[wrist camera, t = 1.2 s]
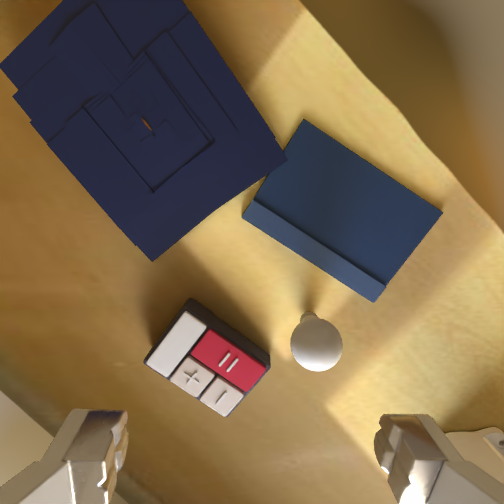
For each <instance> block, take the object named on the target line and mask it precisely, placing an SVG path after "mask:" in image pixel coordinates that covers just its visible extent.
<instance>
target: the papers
mask: <svg viewBox="0 0 504 504" xmlns="http://www.w3.org/2000/svg"><path fill="white" fill-rule="evenodd" d="M0 68H1V70H2V71H3V72H4V73H5V74H6V76H7V77H8V78H9V79H10V80H11V81H12V83H13V84H14V85H15V86H16V87H17V89H18V91H17V92H16V93H15V94H14V95H13V96H12V97H13V98H14V99H15V100H16V101H17V103H18V104H19V105H20V106H21V108H22V109H23V110H24V111H25V112H26V114H27V115H28V116H29V117H30V119H31V120H32V121H31V122H30V123H31V125H32V126H33V127H34V128H35V129H36V131H37V132H38V133H39V134H40V135H41V137H42V138H43V139H44V140H45V141H46V143H47V145H48V146H49V147H50V149H51V150H52V151H53V152H54V153H55V154H56V155H57V157H58V158H59V159H60V160H61V161H62V162H63V164H64V165H65V166H66V167H67V168H68V169H69V171H70V172H71V173H72V174H73V175H74V176H75V177H76V179H77V180H78V181H79V182H80V183H81V184H82V186H83V187H84V188H85V189H86V190H87V191H88V192H89V194H90V195H91V196H92V197H93V198H94V199H95V201H96V202H97V203H98V204H99V205H100V206H101V207H102V209H103V210H104V211H105V212H106V213H107V214H108V216H109V217H110V218H111V219H112V220H113V221H114V223H115V224H116V225H117V226H118V227H119V228H120V229H121V230H122V231H123V232H124V233H125V235H126V236H127V237H128V238H129V239H130V240H131V241H132V242H133V243H134V245H135V246H136V245H137V246H138V247H139V249H140V250H141V251H142V252H143V253H144V254H145V255H146V256H147V257H148V258H149V259H150V260H151V261H152V262H153V261H154V260H155V259H156V258H158V257H159V256H160V255H161V254H163V253H164V252H165V251H166V250H167V249H169V248H170V247H171V246H172V245H173V244H175V243H176V242H177V241H178V240H179V239H181V238H182V237H183V236H184V235H186V234H187V233H188V232H189V231H190V230H192V229H193V228H194V227H195V226H196V225H198V224H199V223H200V222H201V221H202V220H204V219H205V218H206V217H207V216H209V215H210V214H211V213H212V212H213V211H215V210H216V209H218V208H219V207H220V206H222V205H223V204H225V203H226V202H228V201H229V200H231V199H232V198H234V197H235V196H236V195H238V194H239V193H241V192H242V191H244V190H245V189H247V188H248V187H250V186H251V185H252V184H254V183H255V182H257V181H258V180H260V179H261V178H263V177H264V176H266V175H267V174H268V173H270V172H271V171H273V170H274V169H276V168H277V167H279V166H280V165H282V164H283V163H285V162H286V161H287V160H288V159H287V157H286V156H285V154H284V153H283V151H282V149H281V148H280V146H279V144H278V143H277V141H276V140H275V138H276V137H275V136H274V134H273V133H272V131H271V130H270V128H269V127H268V125H267V124H266V122H265V121H264V119H263V118H262V116H261V115H260V113H259V112H258V110H257V109H256V107H255V106H254V104H253V103H252V101H251V100H250V98H249V97H248V95H247V94H246V93H245V91H244V90H243V88H242V87H241V85H240V84H239V82H238V81H237V79H236V78H235V76H234V75H233V73H232V72H231V70H230V69H229V67H228V66H227V64H226V63H225V61H224V60H223V58H222V57H221V56H220V54H219V53H218V51H217V50H216V48H215V47H214V45H213V44H212V42H211V41H210V39H209V38H208V36H207V35H206V33H205V32H204V30H203V29H202V27H201V26H200V24H199V23H198V22H197V20H196V19H195V17H194V16H193V14H192V13H191V12H190V11H189V9H188V8H187V6H186V5H185V4H184V2H183V1H182V0H63V1H62V2H61V3H60V4H59V5H58V6H57V7H56V8H55V9H54V10H53V11H52V12H51V13H50V14H49V15H48V16H47V17H46V18H45V19H44V20H43V21H42V22H41V23H40V24H39V25H38V26H37V27H36V28H35V29H34V30H33V31H32V32H31V33H30V34H29V35H28V36H27V37H26V38H25V39H24V40H23V41H22V42H21V43H20V44H19V45H18V46H17V47H16V48H15V49H14V50H13V51H12V52H11V53H10V54H9V55H8V56H7V57H6V58H5V59H4V60H3V61H2V62H1V63H0Z"/></svg>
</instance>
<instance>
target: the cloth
mask: <svg viewBox="0 0 504 504" xmlns="http://www.w3.org/2000/svg"><path fill="white" fill-rule="evenodd" d="M283 153H284V154H285V156H286V157H287V159H288V160H287V161H286V162H285V163H283V164H282V165H280V166H279V167H277V168H276V169H274V170H273V171H271V172H270V173H269V175H268V176H267V178H266V179H265V181H264V183H263V184H262V186H261V187H260V189H259V190H258V192H257V194H256V195H255V197H254V198H253V200H252V201H251V203H250V205H249V206H248V208H247V209H246V211H245V212H244V214H243V216H242V218H243V219H245V220H246V221H248V222H249V223H251V224H253V225H254V226H256V227H257V228H259V229H260V230H262V231H263V232H265V233H266V234H268V235H269V236H271V237H273V238H274V239H276V240H277V241H279V242H280V243H282V244H283V245H285V246H286V247H288V248H289V249H291V250H293V251H294V252H296V253H297V254H299V255H300V256H302V257H303V258H305V259H306V260H308V261H310V262H311V263H313V264H314V265H316V266H317V267H319V268H320V269H322V270H323V271H325V272H326V273H328V274H330V275H331V276H333V277H334V278H336V279H337V280H339V281H340V282H342V283H343V284H345V285H347V286H348V287H350V288H351V289H353V290H354V291H356V292H357V293H359V294H360V295H362V296H363V297H365V298H367V299H368V300H370V301H371V302H375V301H376V300H377V298H378V297H379V296H380V295H381V293H382V292H383V291H384V289H385V288H386V285H387V284H388V283H389V281H390V280H391V279H392V278H393V276H394V275H395V274H396V272H397V271H398V270H399V269H400V267H401V266H402V265H403V263H404V262H405V261H406V260H407V258H408V257H409V256H410V255H411V253H412V252H413V251H414V249H415V248H416V247H417V246H418V244H419V243H420V242H421V240H422V239H423V238H424V237H425V235H426V234H427V233H428V232H429V230H430V229H431V228H432V226H433V225H434V224H435V223H436V221H437V220H438V219H439V217H440V216H441V215H442V214H443V212H442V211H440V210H439V209H437V208H436V207H434V206H433V205H431V204H430V203H428V202H427V201H425V200H424V199H422V198H421V197H419V196H418V195H416V194H415V193H413V192H412V191H410V190H409V189H407V188H406V187H404V186H403V185H401V184H400V183H398V182H397V181H395V180H394V179H392V178H391V177H390V176H388V175H387V174H385V173H384V172H382V171H381V170H379V169H378V168H376V167H375V166H373V165H372V164H370V163H369V162H367V161H366V160H364V159H363V158H361V157H360V156H358V155H357V154H355V153H354V152H352V151H351V150H349V149H348V148H346V147H345V146H343V145H342V144H340V143H339V142H337V141H336V140H334V139H333V138H332V137H330V136H329V135H327V134H326V133H324V132H323V131H321V130H320V129H318V128H317V127H315V126H314V125H312V124H311V123H309V122H308V121H306V120H305V119H303V121H302V122H301V124H300V125H299V127H298V129H297V130H296V132H295V133H294V135H293V137H292V138H291V140H290V141H289V143H288V145H287V146H286V148H285V149H284V151H283Z"/></svg>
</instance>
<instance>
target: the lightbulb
mask: <svg viewBox="0 0 504 504" xmlns="http://www.w3.org/2000/svg"><path fill="white" fill-rule="evenodd" d="M290 345H291V351H292V353H293V356H294V357H295V359H296V360H297V362H298V363H299V364H300V365H302V366H303V367H305V368H306V369H309V370H312V371H324V370H327V369H329V368H331V367H332V366H334V365H335V364H336V363H337V362H338V360H339V359H340V356H341V353H342V347H343V344H342V338H341V336H340V333H339V332H338V330H337V329H336V328H335V327H334V325H332V324H331V323H330V322H328V321H326V320H324V319H320V318H318V317H317V315H316V314H315V313H313V312H305V313H304V314H303V315H302V316H301V319H300V324H298V325H297V326H296V328H295V329H294V331H293V333H292V336H291V342H290Z"/></svg>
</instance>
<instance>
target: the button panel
mask: <svg viewBox="0 0 504 504" xmlns="http://www.w3.org/2000/svg"><path fill="white" fill-rule="evenodd" d="M143 362H144V364H145V365H147V366H148V367H150V368H151V369H153V370H154V371H156V372H157V373H159V374H160V375H162V376H163V377H165V378H166V379H168V380H169V381H171V382H172V383H174V384H175V385H177V386H178V387H180V388H181V389H183V390H184V391H186V392H188V393H189V394H191V395H192V396H194V397H195V398H197V399H198V400H200V401H201V402H203V403H204V404H206V405H207V406H209V407H210V408H212V409H213V410H215V411H216V412H218V413H219V414H221V415H222V416H224V417H228V416H229V415H230V414H231V413H232V411H233V410H234V409H235V408H236V407H237V406H238V404H239V403H240V402H241V401H242V400H243V399H244V398H245V396H246V395H247V394H248V393H249V392H250V391H251V390H252V388H253V387H254V386H255V385H256V384H257V383H258V382H259V380H260V379H261V378H262V377H263V376H264V375H265V374H266V372H267V371H268V370H269V369H270V355H269V354H268V353H266V352H265V351H264V350H262V349H261V348H259V347H258V346H257V345H255V344H254V343H252V342H251V341H249V340H248V339H247V338H245V337H244V336H242V335H241V334H239V333H238V332H237V331H235V330H234V329H232V328H231V327H230V326H228V325H227V324H225V323H224V322H222V321H221V320H220V319H218V318H217V317H215V316H214V314H213V313H212V312H211V311H210V310H208V309H207V308H206V307H204V306H203V305H201V304H200V303H198V302H197V301H196V300H194V299H193V298H190V299H188V301H187V302H186V303H185V305H184V306H183V307H182V309H181V310H180V311H179V313H178V314H177V315H176V317H175V318H174V319H173V321H172V322H171V323H170V325H169V326H168V327H167V329H166V330H165V331H164V333H163V334H162V335H161V336H160V338H159V339H158V340H157V342H156V343H155V344H154V346H153V347H152V348H151V350H150V351H149V353H148V354H147V356H146V357H145V359H144V361H143Z"/></svg>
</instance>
